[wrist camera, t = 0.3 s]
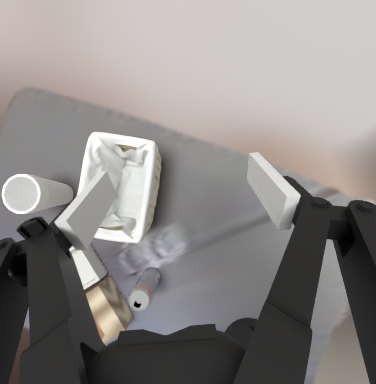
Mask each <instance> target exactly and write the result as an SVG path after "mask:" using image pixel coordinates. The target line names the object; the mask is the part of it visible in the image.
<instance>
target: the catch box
mask: <svg viewBox="0 0 376 384" xmlns="http://www.w3.org/2000/svg"><path fill="white" fill-rule="evenodd" d="M69 250H70V252H71V253H72V256H73V259H74V262H75V265H76V267H77V270H78V273H79V276H80V279H81V282H82V285H83V288H84V290H85V289H86V288H88V287H89V286H91V285H93V284H94V283H96V282H97V281H99V280H100V279H101V278H102V277H104V276H105V275H106V274H107V273H108V272H107V270H106V269H105V267H104V266H103V264H102V262H101V261H100V259H99V257H98V256H97V254H96V252H95V251H94V249H93V247H92V246H91V244H90V245H89V247H88V248H87V250H77V251H76V250H75V248H74V247H71V248H70V249H69Z"/></svg>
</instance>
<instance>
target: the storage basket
mask: <svg viewBox="0 0 376 384" xmlns="http://www.w3.org/2000/svg"><path fill="white" fill-rule="evenodd" d="M117 144H119V145H117ZM122 145H126V146H122ZM129 146H132V147H129ZM135 147H137V148H135ZM161 161H162V159H161V156H160V154H159V152H158V147H157V145H156V144H155V142H154V141H151V140H147V139H142V138H136V137H130V136H123V135H117V134H110V133H103V132H93V133H92V134H91V135H90V137H89V139H88V142H87V146H86V150H85V155H84V159H83V165H82V171H81V177H80V183H79V188H78V194H77V196H78V195H79V194H80V193H81V191H82V190H83V189H84V188H85V187H86V186H87V185H88V184H89V182H90V181H91V180H92V179H93V178H94V177H95V176H96V175H97V173H98V172H101V171H107V172H108V174H109V177H110V179H111V181H112V183H113V186H114V188H115V190H116V193H117V196H116V198H115V200H114V202H113V204H112V205H111V207H110V209H109V211H108V213H107V214H106V216H105V218H104V220H103V222H102V223H101V225H100V227H99V229H98V230H97V232H96V234H95V236H94V238H98V239H104V240H111V241H118V242H127V243H137V244H138V243H140V242H142V241H143V238H144V236H145V234H146V233H147V232H148V231H149V229H150V228H151V224H152V221H153V215H154V209H155V206H156V199H157V196H158V189H159V180H160V172H161ZM106 229H111V230H106Z"/></svg>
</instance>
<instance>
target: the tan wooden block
mask: <svg viewBox="0 0 376 384" xmlns="http://www.w3.org/2000/svg"><path fill="white" fill-rule="evenodd" d="M85 294H86V297H87V300H88V303H89V306H90V308H91V311H92V314H93V316H94V319H95V320H96V321H97V323H98V325H99V326H100V328H101V330H102V331H103V333H104V337H103V338H102V341H103V343H104V344H105V343H107V342H108V341H110V340H111V339H113V338H115V337H116V336H118V335H119V332H120V331H126V329H127V327H128V325H129V323H130V321H131V319H132V317H133V313H132V311H131V310H130V308H129V307H128V305H127V303H126V302H125V300H124V298H123V297H122V295H121V293H120V292H119V290H118V288H117V287H116V285H115V284H114V282H113V280H112V279H111V277H110V275H109V276H108V277H106V278H105V279H103V280H101V281H100V282H98V283H97V284H95V285H94V286H92V287H90V288H89V289H87V290H86V291H85Z"/></svg>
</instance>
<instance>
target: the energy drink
mask: <svg viewBox="0 0 376 384" xmlns="http://www.w3.org/2000/svg"><path fill="white" fill-rule="evenodd" d="M159 280H160V274H159V272H158V270H156V269H155V268H148V269H146V270H145V271H144V272H143V274H142V276H141V277H140V279H139V280H138V282H137V283H136V285H135V286H134V288H133V290H132V291H131V293H130V295H129V300H128V301H129V305H130V307H131V308H132V309H133V310H134V311H138V312H140V311H143V310H145V309H146V308H147V307H148V306H149V305H150V303H151V300H152V298H153V295H154V293H155V290H156V288H157V285H158V283H159Z"/></svg>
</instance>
